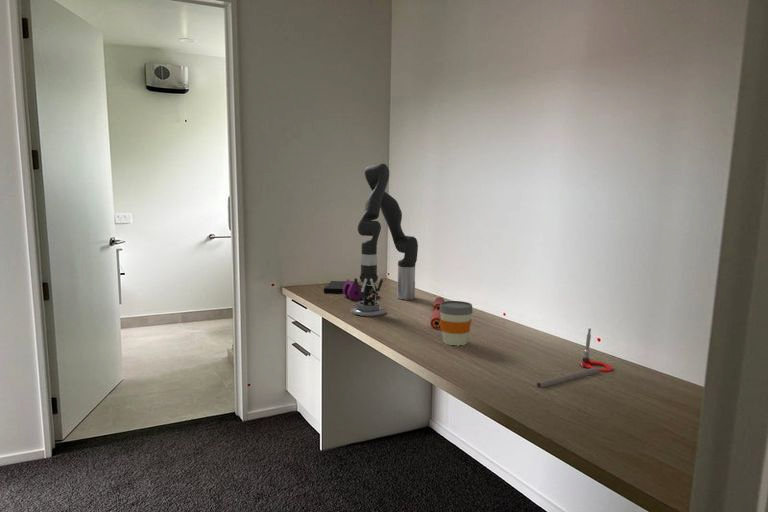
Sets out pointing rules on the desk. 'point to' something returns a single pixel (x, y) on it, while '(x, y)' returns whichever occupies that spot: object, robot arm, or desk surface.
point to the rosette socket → (368, 309)
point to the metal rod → (567, 377)
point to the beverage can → (369, 295)
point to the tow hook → (588, 361)
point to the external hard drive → (335, 287)
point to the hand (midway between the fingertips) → (368, 299)
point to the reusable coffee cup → (455, 321)
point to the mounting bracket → (352, 290)
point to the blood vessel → (436, 313)
